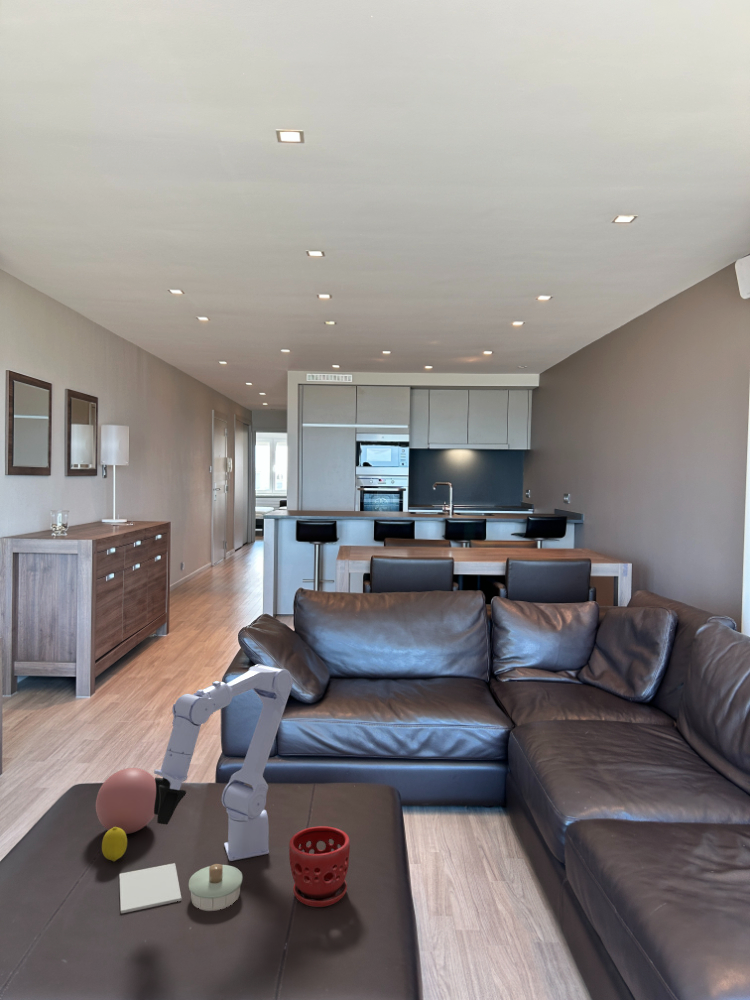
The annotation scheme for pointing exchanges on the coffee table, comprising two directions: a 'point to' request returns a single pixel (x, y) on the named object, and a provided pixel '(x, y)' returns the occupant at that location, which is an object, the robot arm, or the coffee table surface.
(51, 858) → the coffee table surface
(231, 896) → the dish
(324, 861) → the plant pot
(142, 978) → the coffee table surface
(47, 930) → the coffee table surface
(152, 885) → the mat
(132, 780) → the balloon
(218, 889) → the lid
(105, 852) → the lemon
